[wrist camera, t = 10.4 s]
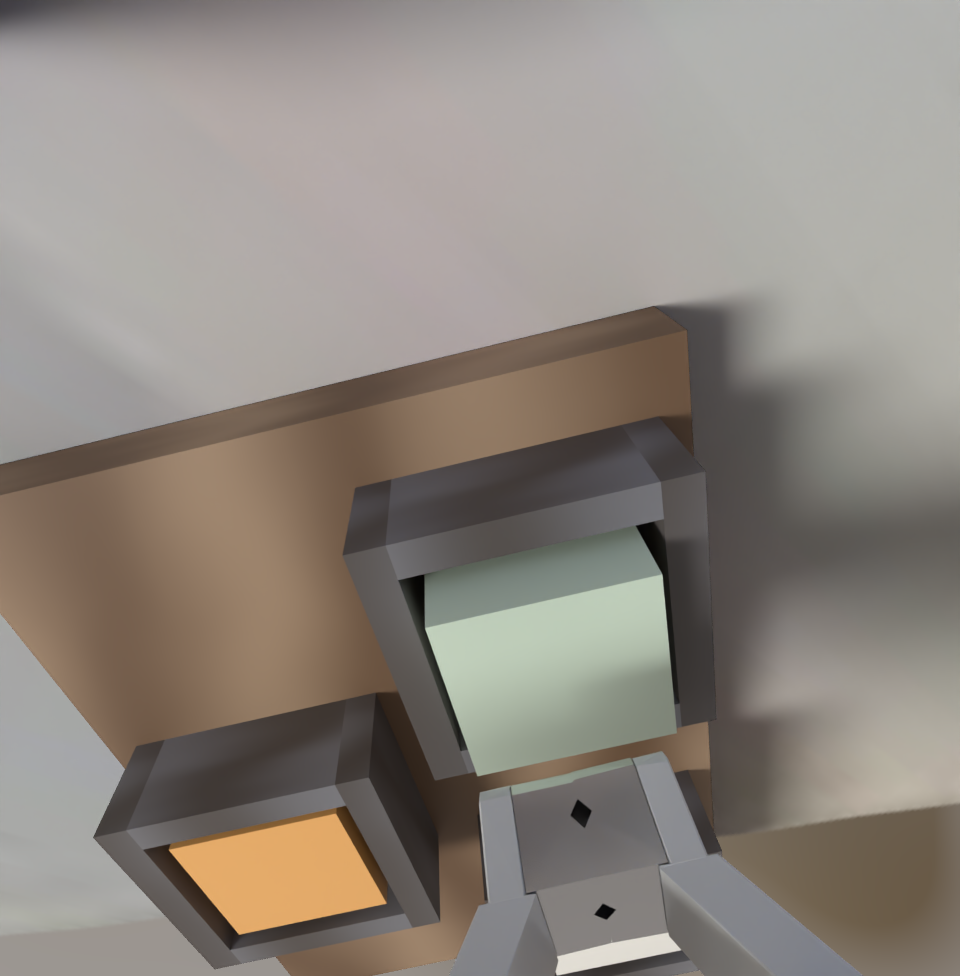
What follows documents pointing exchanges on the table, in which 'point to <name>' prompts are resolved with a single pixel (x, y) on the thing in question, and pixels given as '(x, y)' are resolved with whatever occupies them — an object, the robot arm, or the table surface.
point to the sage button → (554, 649)
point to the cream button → (616, 953)
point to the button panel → (350, 612)
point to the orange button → (285, 870)
